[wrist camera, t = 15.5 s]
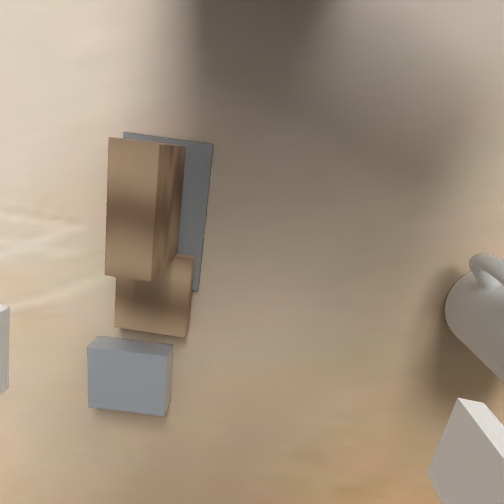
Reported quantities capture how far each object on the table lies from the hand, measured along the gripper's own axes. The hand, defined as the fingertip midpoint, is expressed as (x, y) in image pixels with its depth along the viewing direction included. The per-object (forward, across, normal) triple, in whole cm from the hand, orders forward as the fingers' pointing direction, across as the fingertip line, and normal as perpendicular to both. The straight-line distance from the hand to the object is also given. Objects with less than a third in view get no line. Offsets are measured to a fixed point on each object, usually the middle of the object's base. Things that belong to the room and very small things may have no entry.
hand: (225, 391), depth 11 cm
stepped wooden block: (+24, -9, -3) cm, 26 cm away
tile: (+24, -6, -18) cm, 30 cm away
